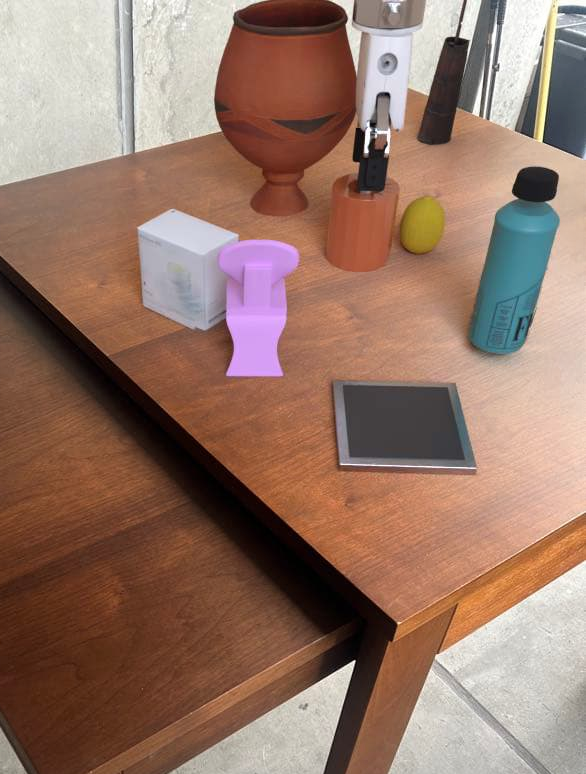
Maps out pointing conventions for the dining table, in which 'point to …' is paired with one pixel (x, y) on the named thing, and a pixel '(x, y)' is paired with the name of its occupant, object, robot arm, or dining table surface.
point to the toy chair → (256, 302)
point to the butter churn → (445, 89)
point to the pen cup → (361, 225)
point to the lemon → (422, 225)
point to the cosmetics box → (184, 268)
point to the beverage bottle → (515, 263)
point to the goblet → (286, 93)
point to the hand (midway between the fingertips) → (367, 174)
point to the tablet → (401, 428)
